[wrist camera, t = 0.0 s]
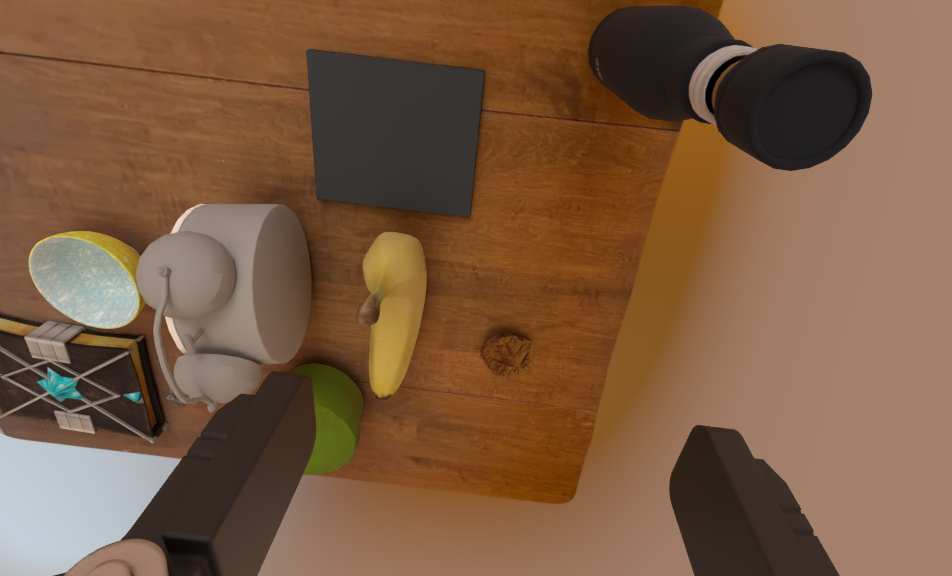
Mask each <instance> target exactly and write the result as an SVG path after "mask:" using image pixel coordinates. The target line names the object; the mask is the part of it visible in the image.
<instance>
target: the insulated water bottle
mask: <svg viewBox="0 0 952 576" xmlns="http://www.w3.org/2000/svg"><path fill="white" fill-rule="evenodd" d="M588 52H589V64H590V66H591V69H592V71H593V74H594V75H595V76H596V77H597V78H598V79H599V81H600V82H601V83H602V84H604V85H605V86H606V87H607V88H608V89H610V90H611V91H612V92H613V93H615V94H616V95H617V96H618V97H619V98H621V99H622V100H623V101H624V102H625V103H627V104H628V105H629V106H630V107H632V108H633V109H634V110H635V111H636V112H638V113H640V114H642V115H644V116H646V117H648V118H650V119H657V120H664V121H682V120H687V119H692V118H693V119H695V120H697V121H699V122H702V123H708V124H714V125H717V128H718V130H719V132H721V134H722V135H723V137H724V138H725V139H726V140H727V141H728V142H730V143H731V144H733V145H735V146H736V147H738V148H739V149H741V150H743V151H745V152H746V153H748V154H750V155H751V156H753V157H754V158H756V159H757V160H759V161H761V162H763V163H765V164H766V165H768V166H770V167H772V168H774V169H781V170H789V171H793V170H799V169H806V168H810V167H813V166H815V165H817V164H820V163H822V162H824V161H827V160H829V159H830V158H831V157H833V156H834V155H836V154H837V153H838V152H839V151H841V150H842V149H844V148H845V147H846V146H847V145H848V144H849V142H850V141H851V140H852V139H853V138H854V137H855V136H856V134H857V133H858V132H859V131H860V129H861V127H862V125H863V123H864V121H865V119H866V117H867V115H868V113H869V109H870V103H871V98H872V89H871V83H870V76H869V75H868V73H867V71H866V70H865V68H864V67H863V65H862V64H861V62H860V61H858V60H856V59H855V58H853V57H851V56H849V55H848V54H846V53H843V52H836V51H829V50H822V49H814V48H807V47H798V46H791V45H784V44H777V45H773V46H767V47H762V48H760V49H758V50H757V49H755V48H753V47H752V46H751V45H749V44H747V43H746V42H744V41H741V40H735V39H734V38H733V36H732V35H731V34H730V32H729V31H728V30H727V28H726V27H725V26H724V25H723V24H722V23H721V21H720V20H718V19H717V18H715V17H714V16H712V15H710V14H709V13H707V12H705V11H703V10H702V9H700V8H694V7H687V6H648V7H627V8H623V9H618V10H616V11H615V12H613V13H611V14H610V15H608V16H606V18H605V19H604V20H603V21H602V22H601V23H600V24H599V25H598V26H597V28H596V30H595V32H594V34H593V36H592V38H591V41H590V46H589V51H588Z"/></svg>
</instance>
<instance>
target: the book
mask: <svg viewBox="0 0 952 576" xmlns="http://www.w3.org/2000/svg"><path fill="white" fill-rule="evenodd" d="M144 337H145V336H144V335H143V334H142V335H141V336H139V337H133V336H124V335H115V334H107V333H98V332H92V331H87V330H86V327H83V326H77V325H71V324H65V323H59V322H53V321H47V322H46V323H44V324H38V323H32V322H27V321H23V320H19V319H15V318H10V317H6V316H2V315H0V413H1V415H0V419H1V418H3V417H5V416H15V417H24V418H34V419H44V420H51V421H57V422H58V423H59V426H60V428H63V429H69V430H75V431H82V432H88V433H94V434H95V433H96V432H97V431H98V430H99V429H101V430H107V431H113V432H118V433H123V434H128V435H133V436H138V437H143V438H144V439H146V440H148V441H149V442H151V443H153V442H154V441H155V440H156V439H157V438H158V437H159V435H160V434H161V433H162V431H163V430H164V431H165V430H166V429H167V427H168V426H169V424H167V423H166V422H164V419H163V416H162V413H161V410H160V407H159V404H158V401H157V397H156V393H155V389H154V385H153V381H152V377H151V373H150V369H149V365H148V360H147V356H146V351H145V346H144V342H143V338H144Z"/></svg>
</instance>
